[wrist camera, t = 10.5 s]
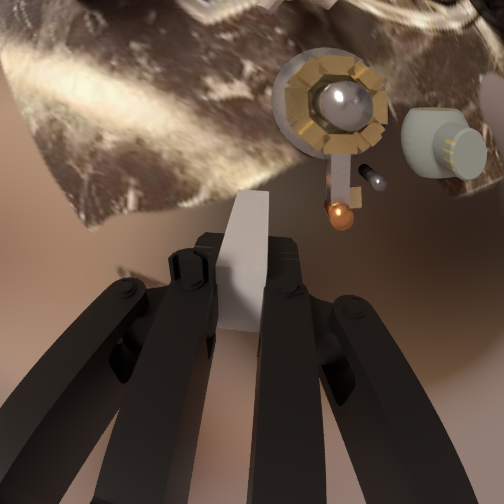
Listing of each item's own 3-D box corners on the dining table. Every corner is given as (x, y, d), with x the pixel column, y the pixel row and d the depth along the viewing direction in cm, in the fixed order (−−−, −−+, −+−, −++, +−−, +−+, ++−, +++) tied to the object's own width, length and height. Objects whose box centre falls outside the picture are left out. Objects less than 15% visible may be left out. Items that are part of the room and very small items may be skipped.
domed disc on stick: (280, 58, 24) (282, 52, 20) (375, 62, 23) (390, 59, 19) (291, 216, 34) (294, 232, 31) (374, 213, 33) (385, 229, 30)
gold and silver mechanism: (375, 48, 23) (403, 38, 16) (390, 203, 34) (415, 230, 27) (260, 56, 25) (257, 43, 19) (292, 216, 36) (296, 248, 29)
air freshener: (395, 169, 31) (432, 197, 23) (388, 108, 27) (429, 117, 19) (457, 162, 29) (499, 188, 21) (453, 107, 25) (500, 119, 17)
